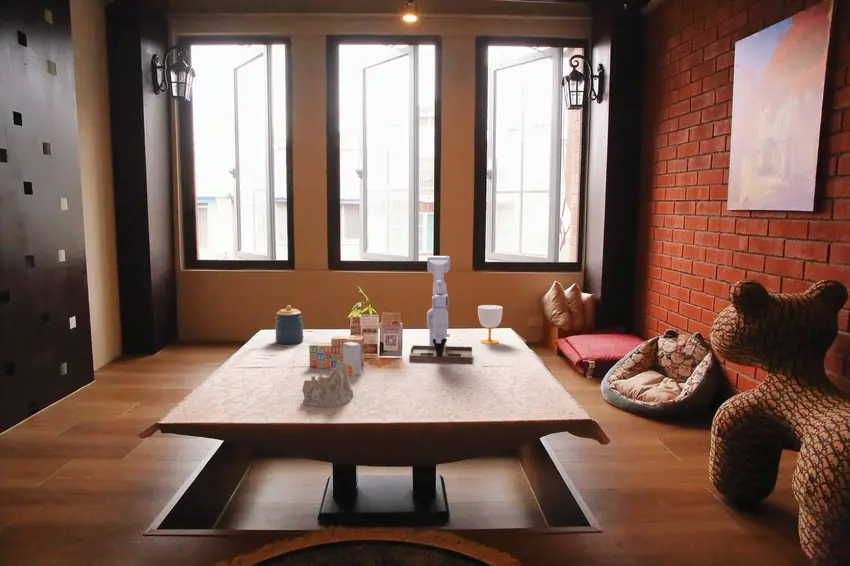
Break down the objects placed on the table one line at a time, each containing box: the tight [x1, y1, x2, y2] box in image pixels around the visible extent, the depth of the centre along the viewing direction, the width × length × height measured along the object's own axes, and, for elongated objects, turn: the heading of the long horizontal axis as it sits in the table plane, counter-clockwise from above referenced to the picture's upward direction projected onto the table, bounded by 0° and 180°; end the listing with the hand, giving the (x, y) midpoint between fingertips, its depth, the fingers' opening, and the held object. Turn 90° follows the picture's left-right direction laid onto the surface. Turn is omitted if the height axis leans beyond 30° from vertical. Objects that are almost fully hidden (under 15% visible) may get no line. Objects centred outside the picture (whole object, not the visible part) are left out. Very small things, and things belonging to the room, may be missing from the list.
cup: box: [477, 304, 504, 345], centre depth 290 cm, size 12×12×17 cm
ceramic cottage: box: [301, 360, 354, 408], centre depth 205 cm, size 16×16×15 cm
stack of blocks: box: [308, 334, 365, 370], centre depth 246 cm, size 21×6×12 cm, turn 86°
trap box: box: [408, 344, 473, 364], centre depth 259 cm, size 12×26×4 cm, turn 85°
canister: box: [274, 304, 304, 345], centre depth 289 cm, size 13×13×18 cm
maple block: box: [436, 343, 446, 356], centre depth 256 cm, size 4×4×4 cm
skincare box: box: [343, 342, 362, 377], centre depth 236 cm, size 6×4×12 cm
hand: (439, 356), depth 249 cm, fingers closed
